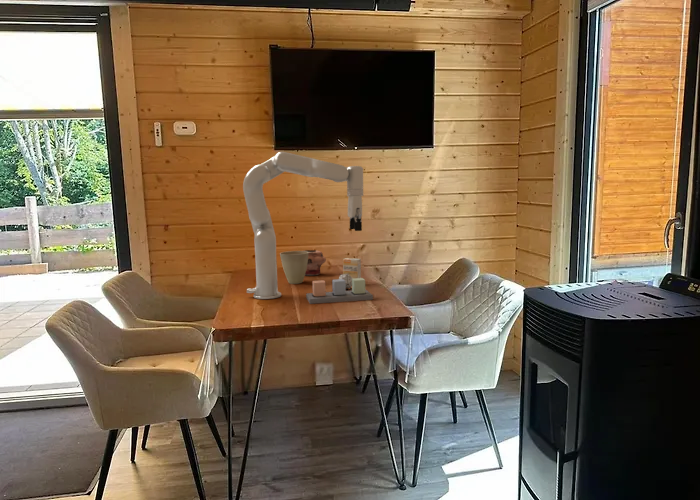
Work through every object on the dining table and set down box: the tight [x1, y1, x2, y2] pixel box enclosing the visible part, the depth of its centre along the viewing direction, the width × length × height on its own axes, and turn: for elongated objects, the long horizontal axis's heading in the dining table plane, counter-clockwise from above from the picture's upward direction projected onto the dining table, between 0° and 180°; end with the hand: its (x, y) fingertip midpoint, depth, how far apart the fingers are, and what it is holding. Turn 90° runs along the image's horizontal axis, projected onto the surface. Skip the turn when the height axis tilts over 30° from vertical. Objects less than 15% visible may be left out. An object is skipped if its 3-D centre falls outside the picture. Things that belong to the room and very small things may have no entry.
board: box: [305, 289, 374, 305], centre depth 220 cm, size 28×12×2 cm, turn 103°
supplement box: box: [342, 257, 362, 278], centre depth 252 cm, size 8×5×13 cm, turn 68°
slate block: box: [331, 278, 347, 295], centre depth 219 cm, size 5×5×6 cm
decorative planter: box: [304, 249, 327, 276], centre depth 280 cm, size 20×12×14 cm, turn 91°
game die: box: [338, 272, 353, 290], centre depth 239 cm, size 9×8×10 cm
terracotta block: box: [312, 279, 327, 296], centre depth 217 cm, size 5×5×6 cm
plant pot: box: [279, 250, 309, 285], centre depth 257 cm, size 15×15×16 cm
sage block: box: [351, 277, 366, 294], centre depth 221 cm, size 5×5×6 cm
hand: (355, 229), depth 230 cm, fingers open, 9 cm apart
